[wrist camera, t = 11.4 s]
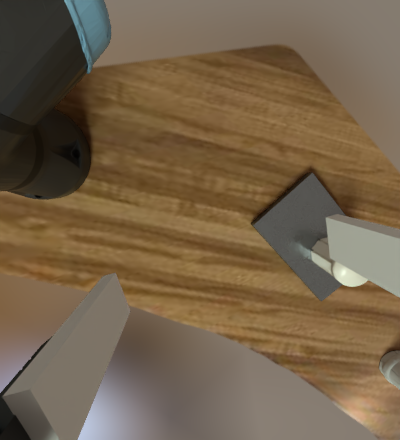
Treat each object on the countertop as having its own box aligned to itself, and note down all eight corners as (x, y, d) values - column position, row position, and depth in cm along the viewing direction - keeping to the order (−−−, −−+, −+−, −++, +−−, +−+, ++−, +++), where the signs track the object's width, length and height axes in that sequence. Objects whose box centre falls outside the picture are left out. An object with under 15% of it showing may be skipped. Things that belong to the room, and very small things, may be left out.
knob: (312, 270, 39) (338, 291, 32) (308, 240, 38) (334, 254, 30) (344, 263, 39) (377, 282, 32) (342, 233, 37) (375, 245, 30)
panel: (250, 223, 38) (260, 230, 33) (307, 173, 37) (327, 171, 31) (316, 297, 42) (335, 314, 36) (370, 253, 40) (398, 264, 35)
